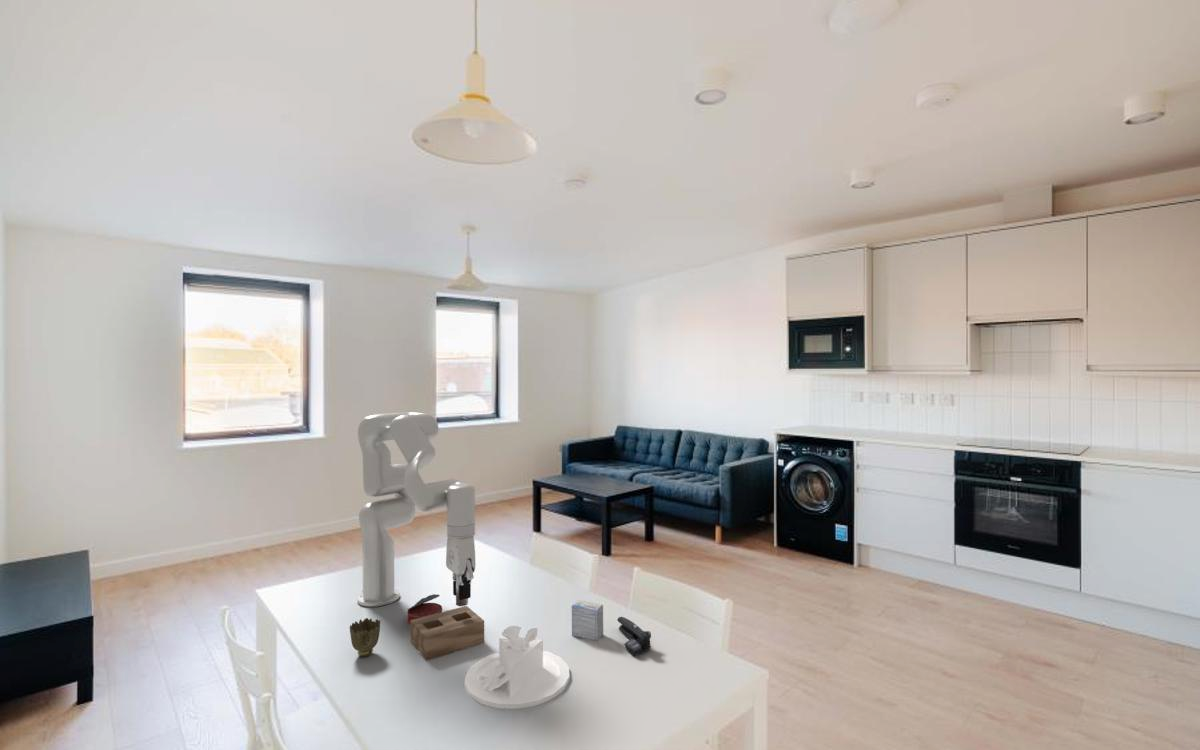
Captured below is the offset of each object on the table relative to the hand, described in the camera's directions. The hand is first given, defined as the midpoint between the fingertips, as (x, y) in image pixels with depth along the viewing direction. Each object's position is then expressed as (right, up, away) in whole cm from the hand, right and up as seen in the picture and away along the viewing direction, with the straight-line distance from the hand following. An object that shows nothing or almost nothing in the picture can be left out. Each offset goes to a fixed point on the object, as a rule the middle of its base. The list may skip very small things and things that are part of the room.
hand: (461, 595), depth 157 cm
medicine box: (+34, -12, +2) cm, 37 cm away
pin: (0, -2, 0) cm, 2 cm away
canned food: (-14, -12, +12) cm, 22 cm away
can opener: (+47, -12, -1) cm, 48 cm away
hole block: (-3, -12, -2) cm, 13 cm away
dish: (+18, -13, -20) cm, 30 cm away
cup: (-23, -12, -9) cm, 27 cm away
